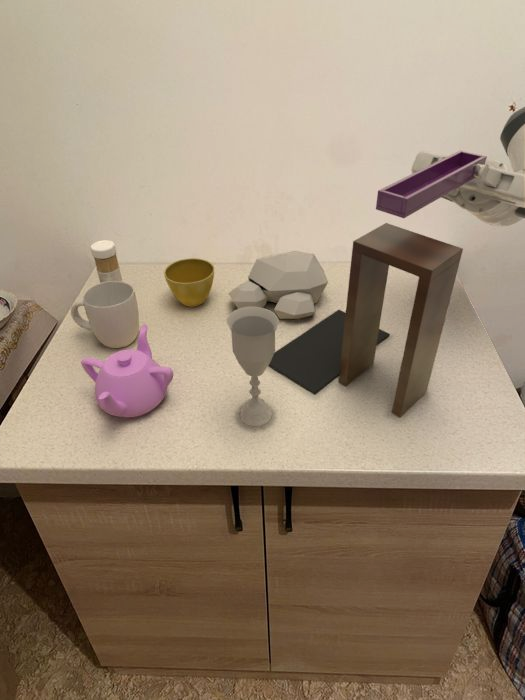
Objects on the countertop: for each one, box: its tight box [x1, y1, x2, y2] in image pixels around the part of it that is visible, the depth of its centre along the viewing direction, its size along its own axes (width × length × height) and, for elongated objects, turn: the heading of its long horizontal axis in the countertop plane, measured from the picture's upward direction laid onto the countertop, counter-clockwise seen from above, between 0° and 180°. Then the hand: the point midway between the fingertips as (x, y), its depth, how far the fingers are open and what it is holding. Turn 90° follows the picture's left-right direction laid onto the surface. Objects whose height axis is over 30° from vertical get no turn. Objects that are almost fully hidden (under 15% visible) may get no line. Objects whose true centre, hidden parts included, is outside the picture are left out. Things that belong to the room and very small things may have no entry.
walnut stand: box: [338, 222, 464, 418], centre depth 76 cm, size 8×12×26 cm, turn 46°
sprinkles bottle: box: [90, 239, 124, 283], centre depth 101 cm, size 5×5×14 cm
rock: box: [228, 250, 329, 320], centre depth 102 cm, size 18×20×10 cm
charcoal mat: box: [268, 309, 391, 395], centre depth 92 cm, size 22×12×1 cm, turn 136°
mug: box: [70, 281, 140, 349], centre depth 93 cm, size 13×9×10 cm
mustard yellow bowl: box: [163, 257, 215, 308], centre depth 103 cm, size 10×10×7 cm
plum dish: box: [375, 150, 488, 219], centre depth 71 cm, size 22×4×3 cm, turn 135°
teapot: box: [80, 323, 174, 419], centre depth 80 cm, size 12×14×9 cm
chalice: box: [226, 307, 280, 427], centre depth 74 cm, size 7×7×18 cm
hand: (459, 165), depth 75 cm, fingers closed on plum dish, 4 cm apart
